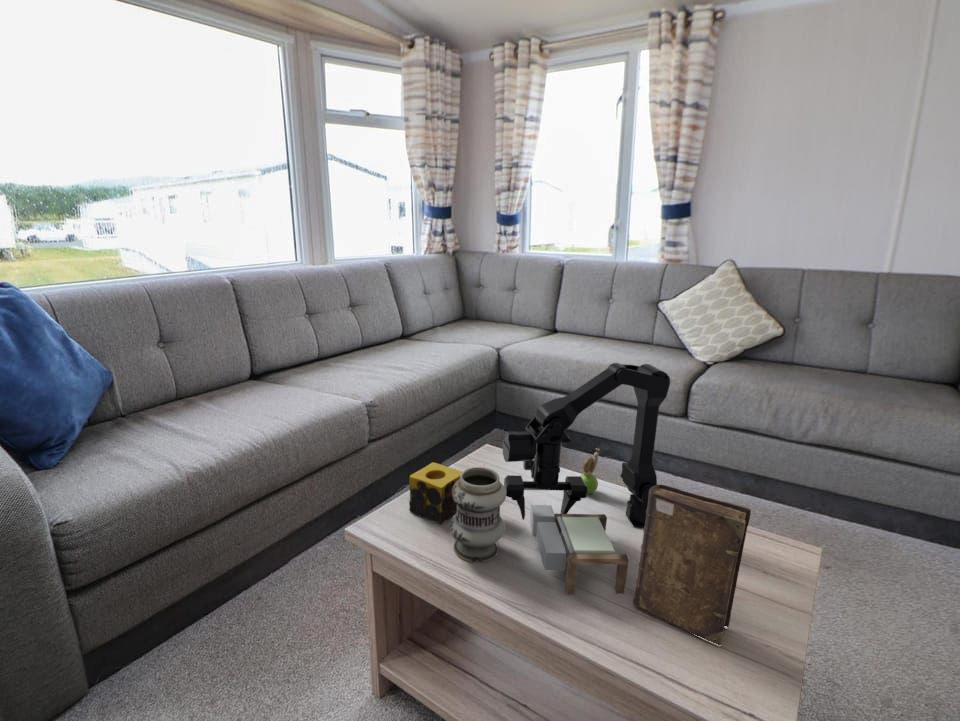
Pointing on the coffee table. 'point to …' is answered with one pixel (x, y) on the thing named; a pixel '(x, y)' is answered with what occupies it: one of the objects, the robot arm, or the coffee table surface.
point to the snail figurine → (590, 473)
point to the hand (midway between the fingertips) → (542, 518)
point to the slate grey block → (540, 516)
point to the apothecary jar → (477, 514)
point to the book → (690, 560)
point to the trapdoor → (571, 540)
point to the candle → (433, 492)
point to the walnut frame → (594, 559)
